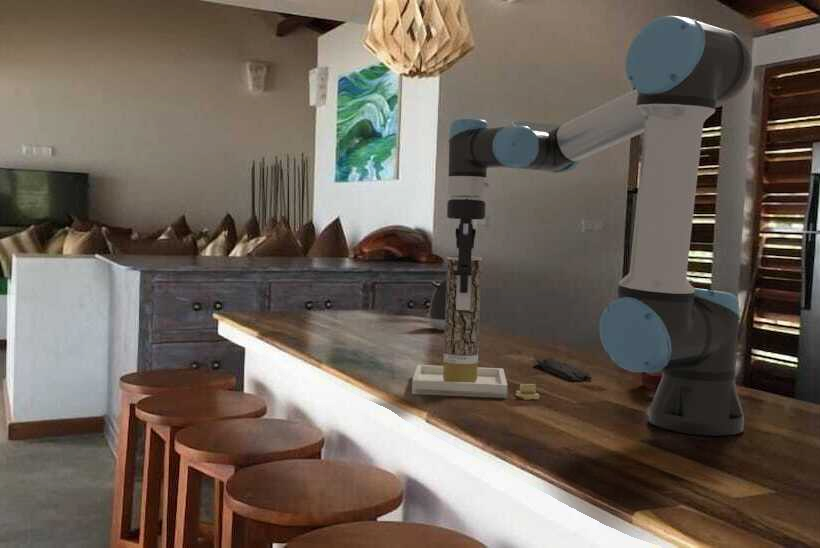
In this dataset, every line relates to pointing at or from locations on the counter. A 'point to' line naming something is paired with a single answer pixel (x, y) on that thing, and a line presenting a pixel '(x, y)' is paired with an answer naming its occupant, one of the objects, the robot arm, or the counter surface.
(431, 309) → the pump dispenser
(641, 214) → the robot arm
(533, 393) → the tan short block
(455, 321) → the paper tube
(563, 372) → the wood
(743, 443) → the counter surface
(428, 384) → the ceramic dish
